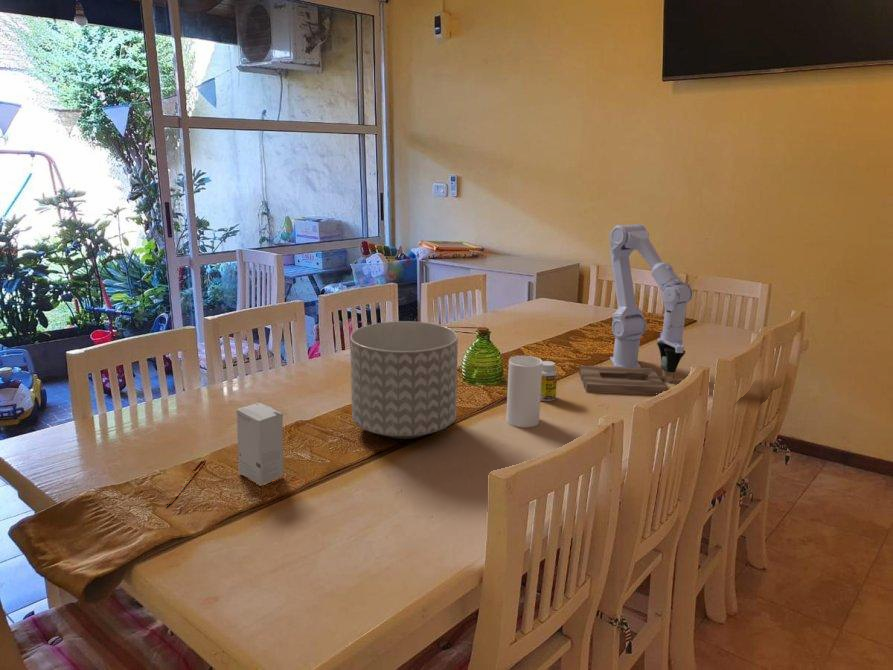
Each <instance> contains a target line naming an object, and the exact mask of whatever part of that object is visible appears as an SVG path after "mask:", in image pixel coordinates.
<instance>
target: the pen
mask: <svg viewBox="0 0 893 670" xmlns="http://www.w3.org/2000/svg"><path fill="white" fill-rule="evenodd" d="M205 460H206V459H204V460H201V461H200V462H199V463H198V464H197V465H196V467H195V468H194V469H192V472H193V471H196V470H197V469H198V468H199V467H200V466H201V465H202V464H203V463H204V461H205ZM205 462H206V461H205ZM193 473H194V472H193Z"/></svg>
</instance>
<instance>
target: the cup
mask: <svg viewBox="0 0 893 670" xmlns="http://www.w3.org/2000/svg"><path fill="white" fill-rule="evenodd" d="M542 362H543V360H542V359H540V358H539V357H536V356H531V355H516V356H512V357H510V358H509V359H508V371H507V372H508V374H507V375H508V376H507V397H506V398H507V399H506V417H505V419H506V423H507V424H508V425H510V426H513V427H517V428H523V429H525V428H533V427H536V426H537V425H538V424H539V423H540V413H541V411H540V410H541V400H540V397H541V381H542V364H543V363H542Z"/></svg>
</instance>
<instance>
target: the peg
mask: <svg viewBox="0 0 893 670" xmlns="http://www.w3.org/2000/svg"><path fill="white" fill-rule="evenodd" d="M660 362H661V363H660V369H662V376H661V380H662V382H663V381H664V382H663V383H668V382H670V383H672V382H673V379H674V378H673V377H674V372H668V371H667V358H666V356H663V357H662V361H661V360H660Z"/></svg>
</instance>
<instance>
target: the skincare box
mask: <svg viewBox="0 0 893 670" xmlns="http://www.w3.org/2000/svg"><path fill="white" fill-rule="evenodd" d="M283 416H284V415H283V413H281V412H279V411H278V410H275V409H274V407H271V406H267V405H266V404H263V403H261V402H256V403H252V404H250V405H245V406H243V407H239V408H236V420H237V422H236V423H237V424H236V427H237V457H238V459H237V460H238V461H237V463H238V465H237V467H238V475H239V474H241V475H244V476H246V477H248V478H249V479H251V480H253V481H254V482H256V483H258V484H259V485H263V484H265V483H267V482H270V481H272V480H274V479H277V478H279V477H281V476H283V475H284V425H283V424H284V422H283V421H284V418H283ZM241 475H240V476H241ZM249 479H248V480H249ZM251 480H250V481H251ZM254 482H253V483H254Z"/></svg>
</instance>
